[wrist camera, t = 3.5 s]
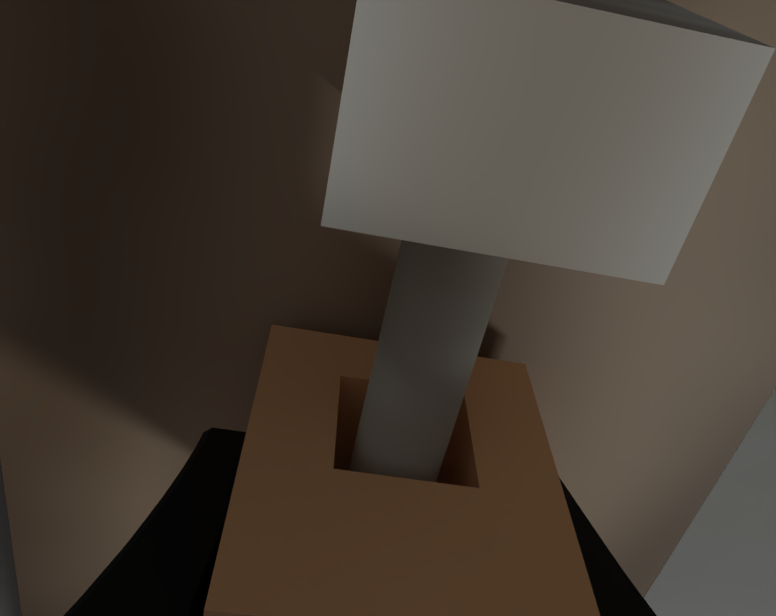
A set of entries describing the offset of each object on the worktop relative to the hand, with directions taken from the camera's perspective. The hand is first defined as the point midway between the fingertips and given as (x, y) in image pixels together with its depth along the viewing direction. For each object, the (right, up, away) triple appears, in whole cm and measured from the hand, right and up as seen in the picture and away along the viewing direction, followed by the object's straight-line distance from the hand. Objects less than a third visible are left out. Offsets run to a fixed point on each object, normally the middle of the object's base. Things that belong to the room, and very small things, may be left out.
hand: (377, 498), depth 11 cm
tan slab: (-1, -3, +6) cm, 7 cm away
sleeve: (0, +1, +1) cm, 1 cm away
